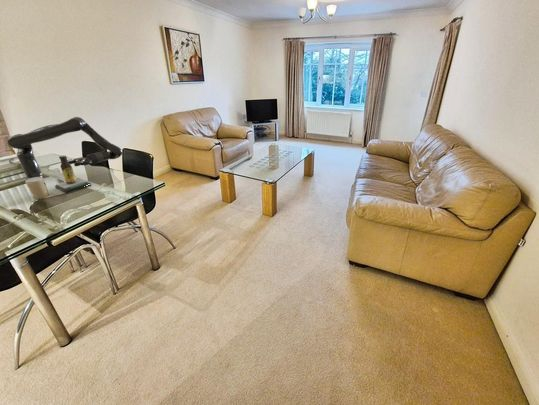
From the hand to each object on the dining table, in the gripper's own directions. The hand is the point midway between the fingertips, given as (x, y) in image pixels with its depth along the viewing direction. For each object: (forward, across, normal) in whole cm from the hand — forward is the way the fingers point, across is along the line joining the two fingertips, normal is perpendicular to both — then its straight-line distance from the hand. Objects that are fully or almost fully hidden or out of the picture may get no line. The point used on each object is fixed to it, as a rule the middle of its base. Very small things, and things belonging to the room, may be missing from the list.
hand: (71, 164), depth 178 cm
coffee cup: (+23, -1, +16) cm, 28 cm away
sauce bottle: (+4, 0, +13) cm, 14 cm away
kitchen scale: (+4, +1, +16) cm, 17 cm away
